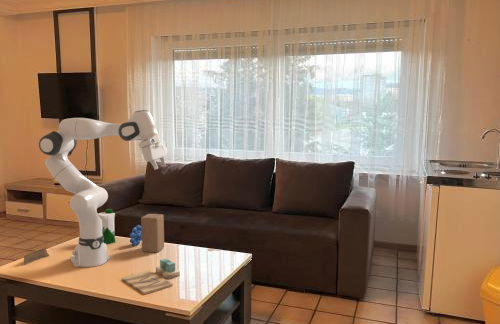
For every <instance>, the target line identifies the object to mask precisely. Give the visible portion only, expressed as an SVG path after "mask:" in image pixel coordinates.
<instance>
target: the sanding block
mask: <svg viewBox="0 0 500 324" xmlns="http://www.w3.org/2000/svg"><path fill="white" fill-rule="evenodd" d="M159 265H160V266H157V267H155V272H156V273H157V272H158V273H157V274H158V275H161V276H162V275H163V277H164V276H165V277H164V278H166V277H167V278H166V279H168V280H171V279H174V278H177V276H178V277H180V276H181V273H180V270H178V269H176V263H175V262H173V261H172V260H169V259H167V258H162V259H160V260H159ZM170 278H171V279H170Z"/></svg>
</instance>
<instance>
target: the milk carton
mask: <svg viewBox="0 0 500 324" xmlns="http://www.w3.org/2000/svg"><path fill="white" fill-rule="evenodd" d="M97 214H98V217H99V218H100V219H101V220H102V234H103V237H104V243H105V244H106V245H109V244H113V243H116V234H115V230H116V229H115V217H116V213H115V212H114V211H113V208H107V209H104V212H100V213H97Z"/></svg>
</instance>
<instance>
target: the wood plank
mask: <svg viewBox="0 0 500 324" xmlns="http://www.w3.org/2000/svg"><path fill="white" fill-rule="evenodd" d="M48 257H50V254H49V253H48V251H47V247H43V248H40V249H38V250H35V251H33V252H30V253H28V254H26V255H24V256H23V265H24V266H26V265H28V264H31V263H33V262H35V261H38V260H41V259H44V258H45V259H46V258H48Z"/></svg>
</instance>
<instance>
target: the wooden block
mask: <svg viewBox="0 0 500 324" xmlns="http://www.w3.org/2000/svg"><path fill="white" fill-rule="evenodd" d="M164 222H165V219H164V214H161V213H160V214H159V213H147V214H145V215H143V216H141V218H140V226H141V236H142V240H141V252H145V253H159V252H160V251H162V250H163V249H164V248H165V224H164Z"/></svg>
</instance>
